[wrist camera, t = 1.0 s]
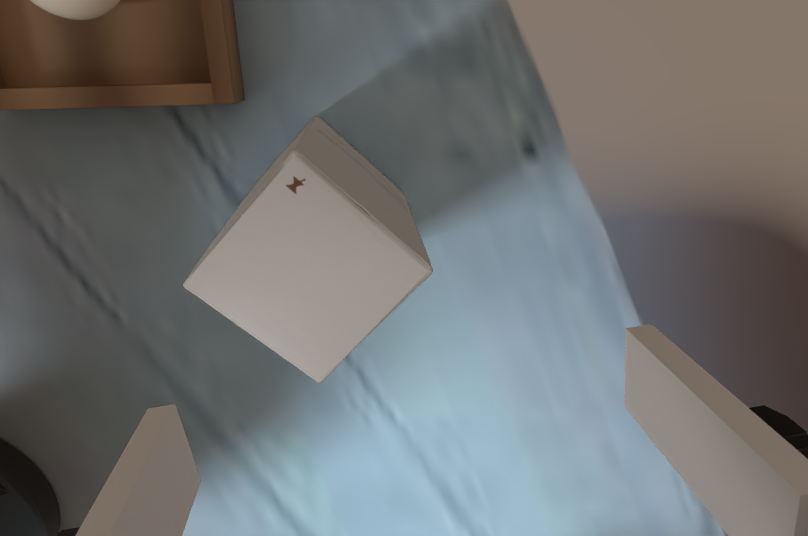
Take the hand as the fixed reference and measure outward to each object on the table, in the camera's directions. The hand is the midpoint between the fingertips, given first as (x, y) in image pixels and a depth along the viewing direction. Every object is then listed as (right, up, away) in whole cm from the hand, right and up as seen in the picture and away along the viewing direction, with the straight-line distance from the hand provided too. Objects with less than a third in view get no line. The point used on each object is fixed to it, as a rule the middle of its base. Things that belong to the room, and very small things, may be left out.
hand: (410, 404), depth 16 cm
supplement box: (-5, +8, +18) cm, 20 cm away
